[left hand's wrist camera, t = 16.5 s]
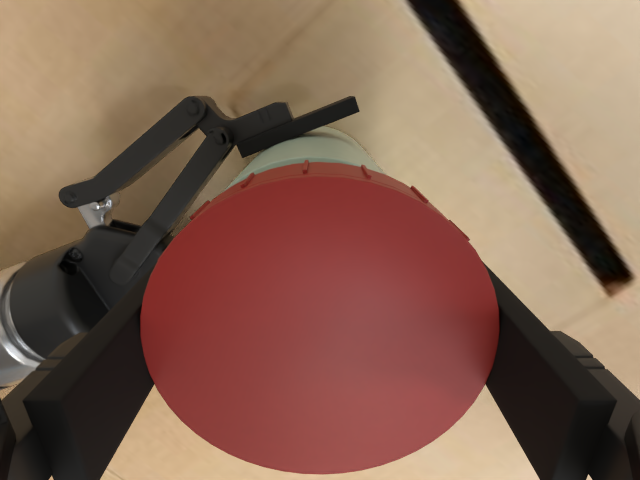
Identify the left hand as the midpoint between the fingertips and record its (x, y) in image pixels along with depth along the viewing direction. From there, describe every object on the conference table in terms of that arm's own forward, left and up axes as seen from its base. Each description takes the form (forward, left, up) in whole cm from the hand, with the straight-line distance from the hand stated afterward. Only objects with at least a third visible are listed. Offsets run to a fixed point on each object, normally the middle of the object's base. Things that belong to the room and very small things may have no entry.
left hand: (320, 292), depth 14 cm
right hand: (-4, -1, -9) cm, 10 cm away
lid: (0, 0, +3) cm, 3 cm away
